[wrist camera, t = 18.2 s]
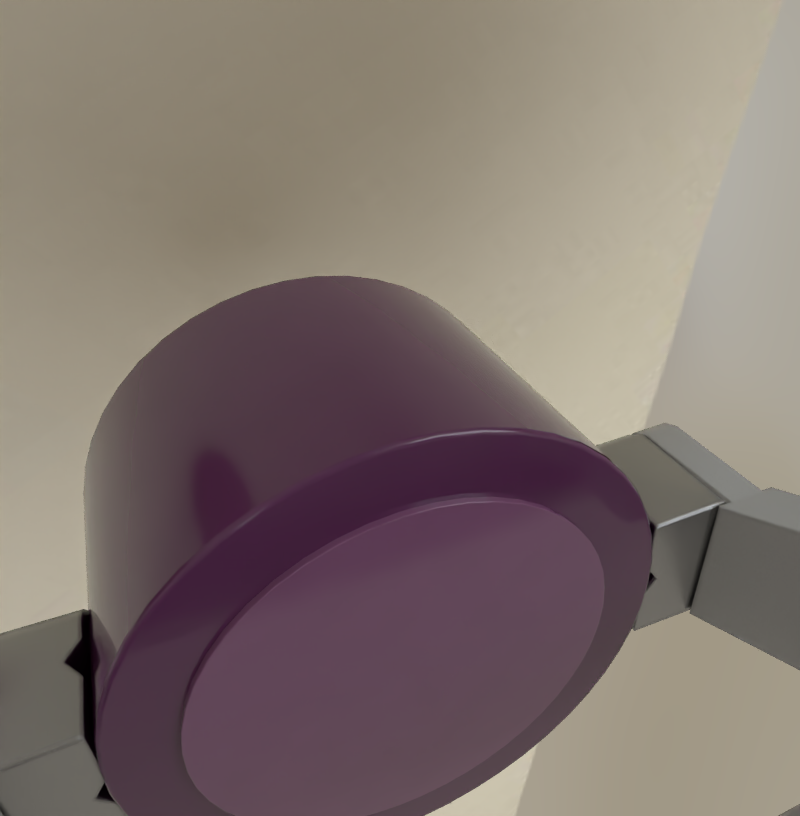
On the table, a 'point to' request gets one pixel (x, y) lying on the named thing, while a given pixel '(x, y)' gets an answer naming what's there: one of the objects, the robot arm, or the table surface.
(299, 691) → the dish
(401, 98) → the table surface
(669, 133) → the table surface
